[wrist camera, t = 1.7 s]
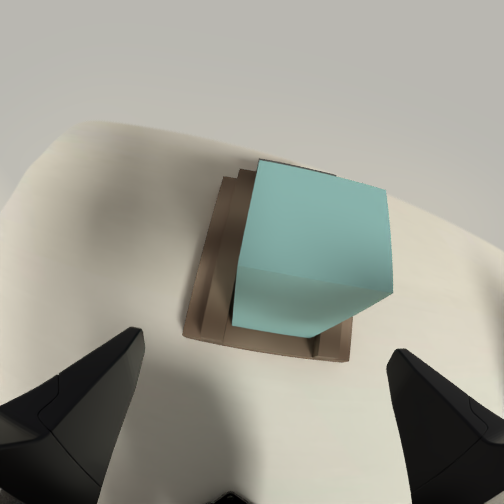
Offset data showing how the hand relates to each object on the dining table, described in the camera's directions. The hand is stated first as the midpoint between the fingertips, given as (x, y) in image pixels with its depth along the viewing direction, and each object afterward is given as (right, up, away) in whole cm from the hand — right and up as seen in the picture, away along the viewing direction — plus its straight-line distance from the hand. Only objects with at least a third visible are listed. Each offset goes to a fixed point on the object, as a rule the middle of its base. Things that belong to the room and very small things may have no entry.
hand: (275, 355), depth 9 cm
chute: (+2, +2, +16) cm, 16 cm away
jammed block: (+1, 0, +13) cm, 13 cm away
